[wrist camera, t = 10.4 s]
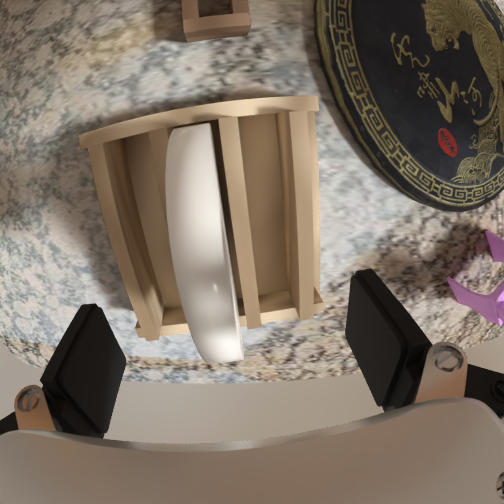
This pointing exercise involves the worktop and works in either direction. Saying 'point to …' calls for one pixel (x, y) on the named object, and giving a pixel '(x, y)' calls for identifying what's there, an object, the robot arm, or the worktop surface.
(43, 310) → the worktop surface
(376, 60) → the decorative plate
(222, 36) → the plate stand
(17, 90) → the worktop surface
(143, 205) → the dish rack
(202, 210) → the side plate
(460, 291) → the toy chair
